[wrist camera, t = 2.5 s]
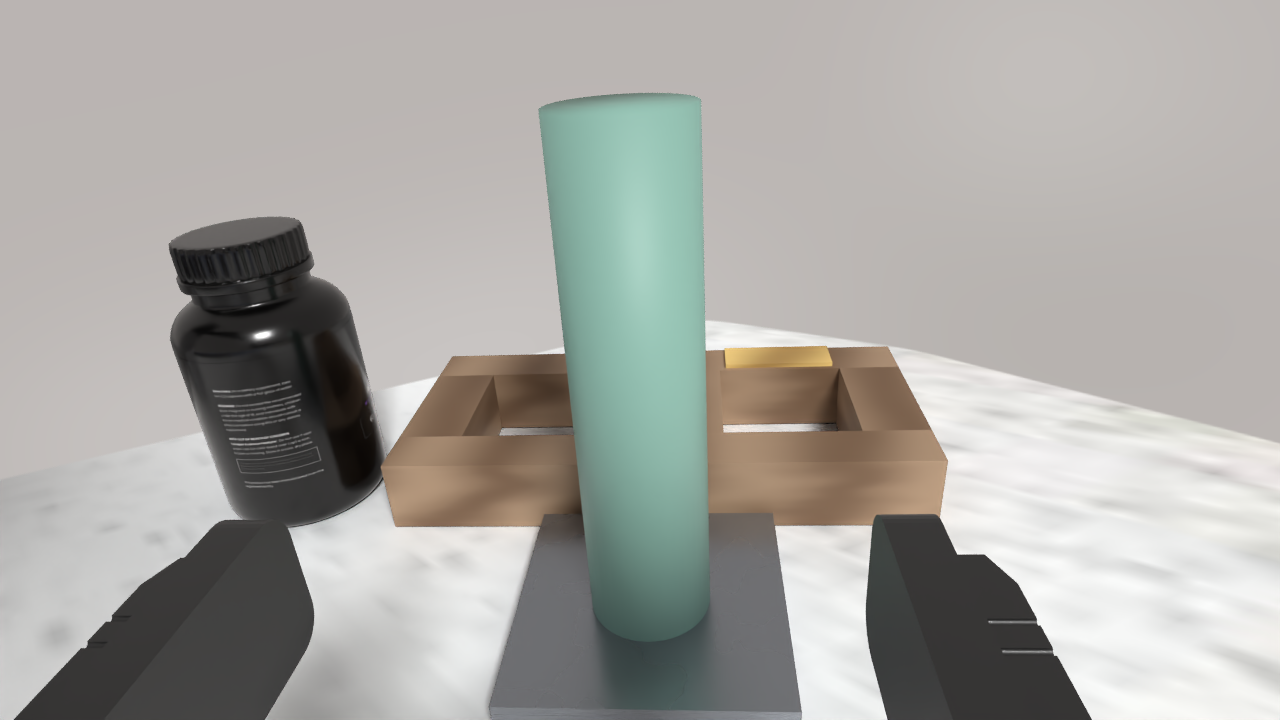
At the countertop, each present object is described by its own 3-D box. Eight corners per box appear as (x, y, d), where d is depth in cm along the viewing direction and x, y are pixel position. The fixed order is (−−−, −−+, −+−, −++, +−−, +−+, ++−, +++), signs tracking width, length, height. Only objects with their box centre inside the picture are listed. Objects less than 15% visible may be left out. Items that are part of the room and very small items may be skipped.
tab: (493, 730, 23) (488, 707, 22) (546, 534, 31) (544, 513, 30) (800, 736, 22) (801, 712, 21) (772, 533, 30) (773, 512, 29)
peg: (585, 641, 24) (523, 120, 17) (599, 556, 28) (553, 97, 21) (711, 642, 24) (701, 112, 17) (709, 556, 27) (700, 89, 20)
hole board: (395, 526, 32) (379, 462, 30) (461, 406, 40) (451, 353, 39) (938, 524, 30) (948, 456, 28) (882, 399, 39) (888, 342, 37)
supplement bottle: (420, 458, 36) (366, 212, 31) (316, 548, 31) (228, 266, 25) (310, 435, 39) (243, 204, 33) (195, 515, 33) (92, 252, 28)
